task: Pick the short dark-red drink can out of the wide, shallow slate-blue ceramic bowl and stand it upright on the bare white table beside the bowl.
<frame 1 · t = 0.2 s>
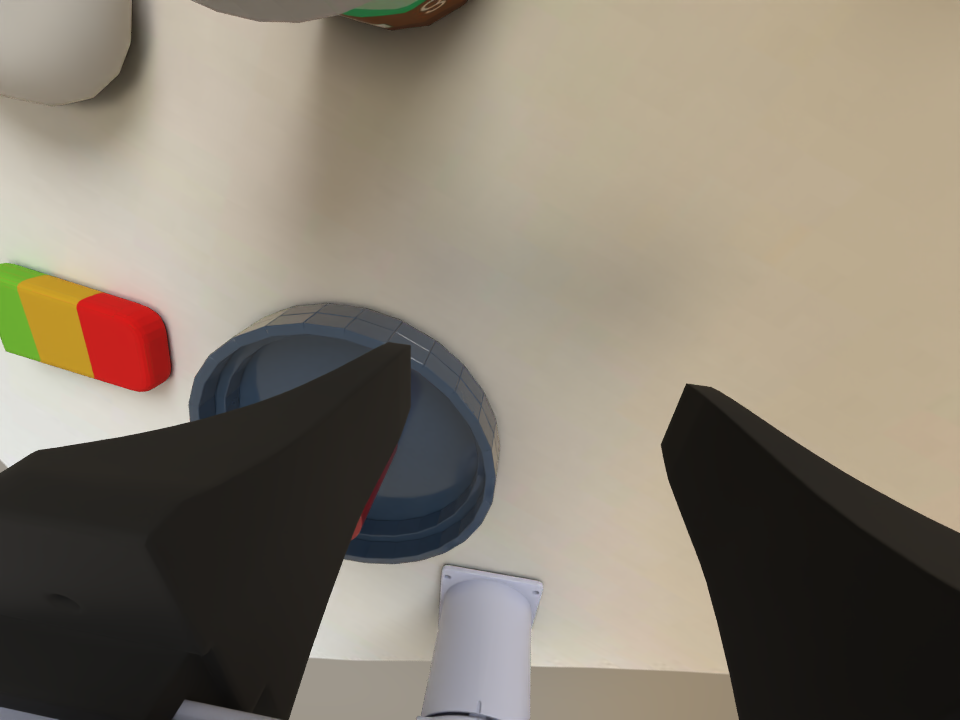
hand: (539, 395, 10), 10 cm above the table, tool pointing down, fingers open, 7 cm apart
bowl: (360, 433, 26), on the table
can: (358, 436, 25), resting on bowl
popsicle: (55, 309, 24), on the table
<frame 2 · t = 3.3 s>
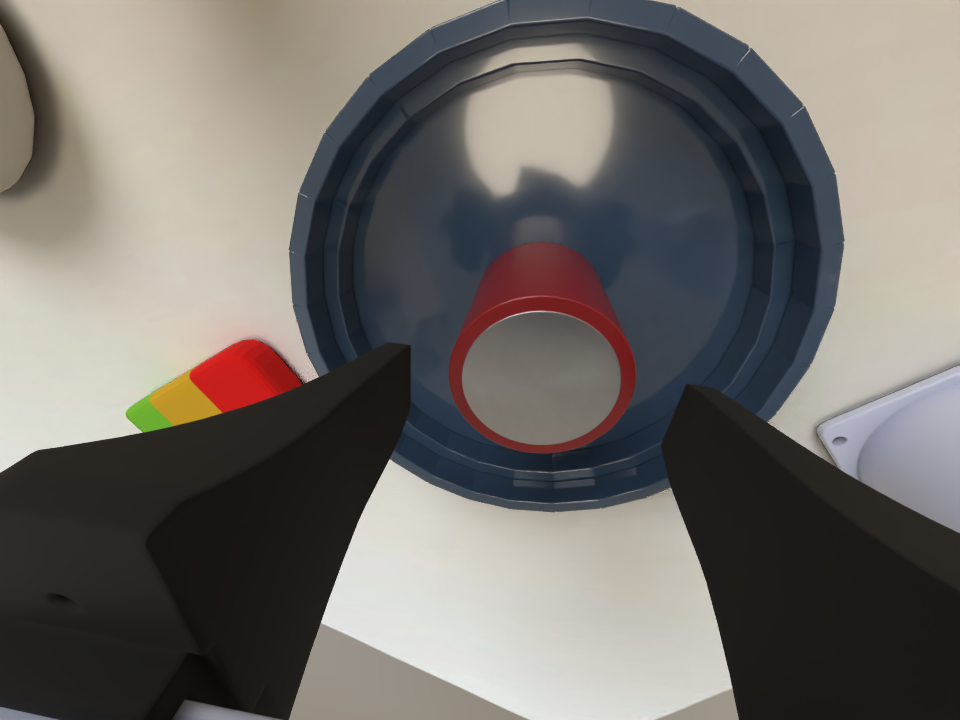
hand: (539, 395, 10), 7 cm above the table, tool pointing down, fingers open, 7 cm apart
bowl: (538, 303, 16), on the table
can: (538, 305, 16), resting on bowl
popsicle: (207, 418, 23), on the table
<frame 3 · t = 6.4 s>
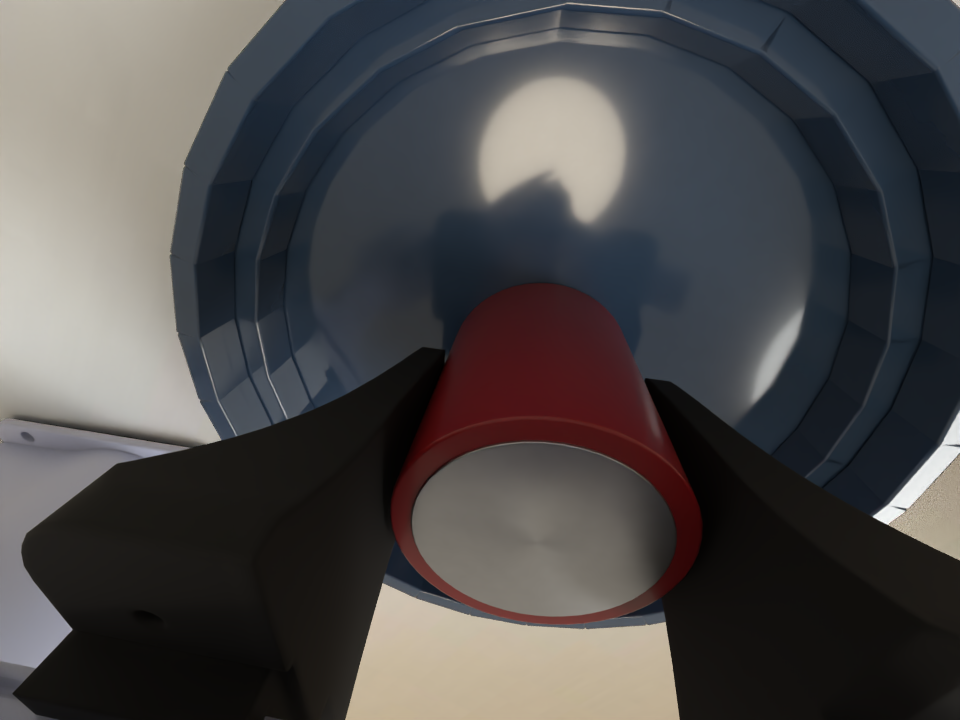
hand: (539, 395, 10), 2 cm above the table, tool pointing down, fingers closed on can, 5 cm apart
bowl: (538, 360, 12), on the table
can: (537, 365, 12), resting on bowl, touching gripper
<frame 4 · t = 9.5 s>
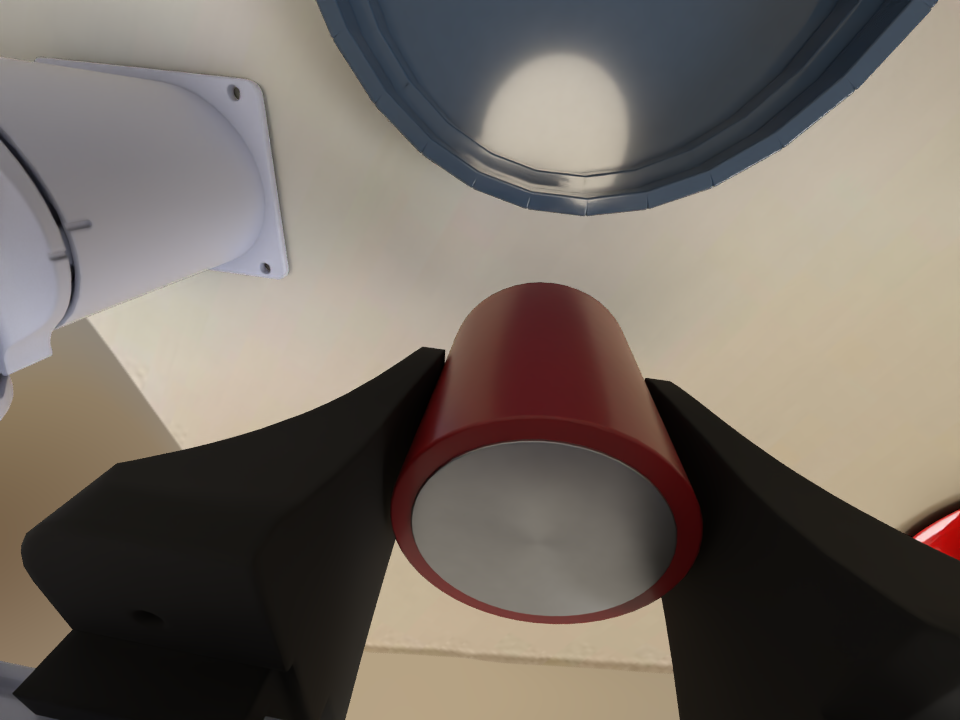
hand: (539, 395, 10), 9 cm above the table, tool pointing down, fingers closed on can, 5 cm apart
can: (537, 365, 12), point 7 cm above the table, touching gripper
when the fingers open (2 cm above the table, at t = 12.6 s): can stays where it is, on the table.
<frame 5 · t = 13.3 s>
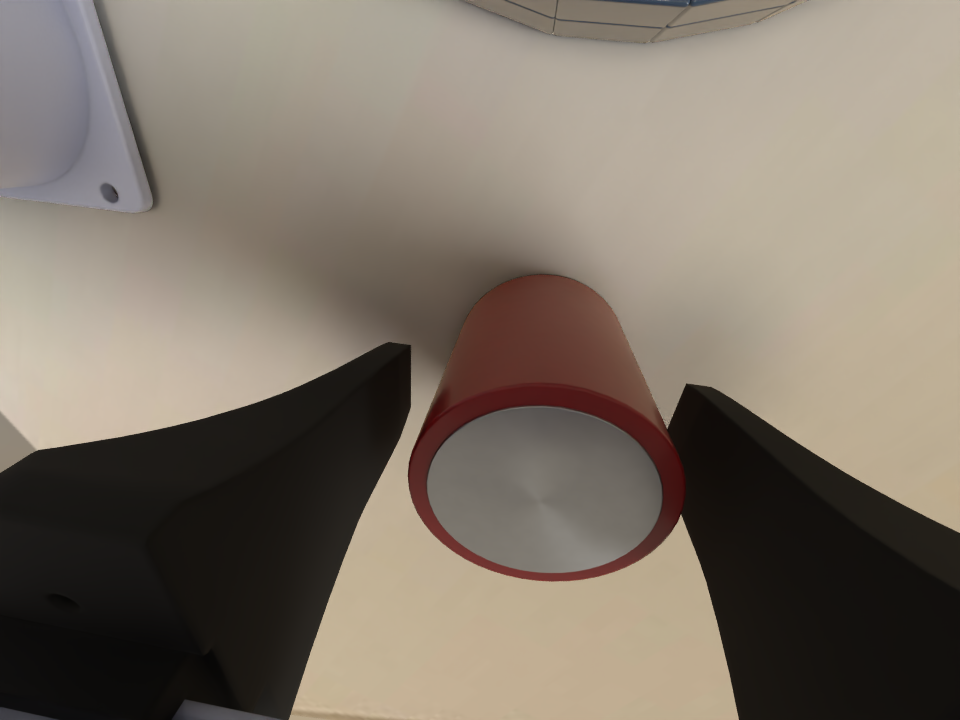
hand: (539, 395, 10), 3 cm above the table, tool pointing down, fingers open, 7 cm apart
can: (539, 352, 13), on the table
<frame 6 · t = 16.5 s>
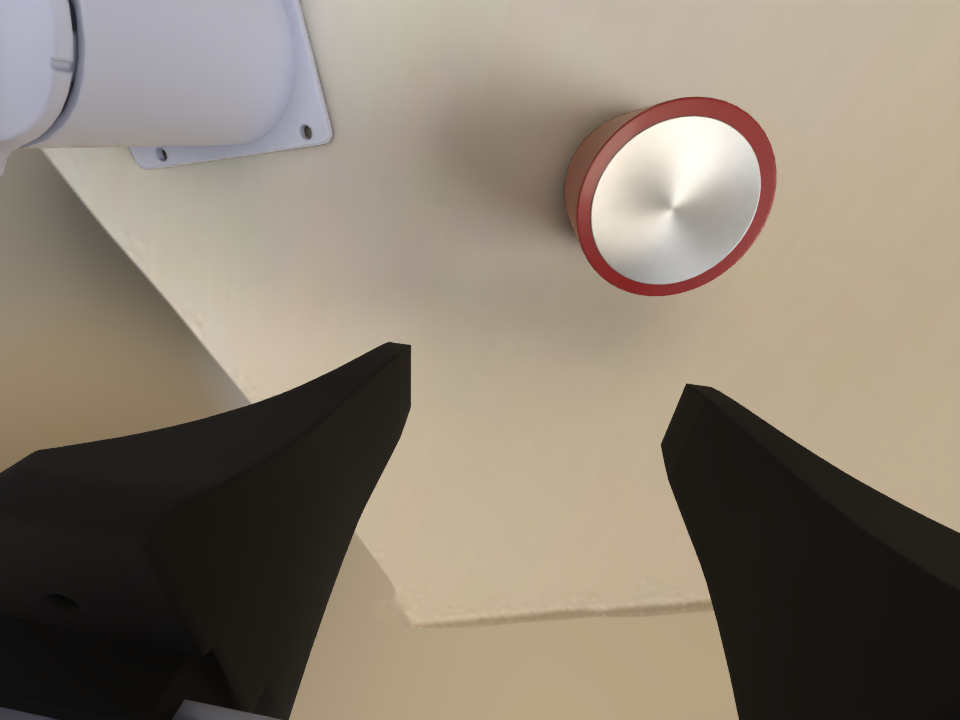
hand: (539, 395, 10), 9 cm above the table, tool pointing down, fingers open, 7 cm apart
can: (628, 186, 16), on the table
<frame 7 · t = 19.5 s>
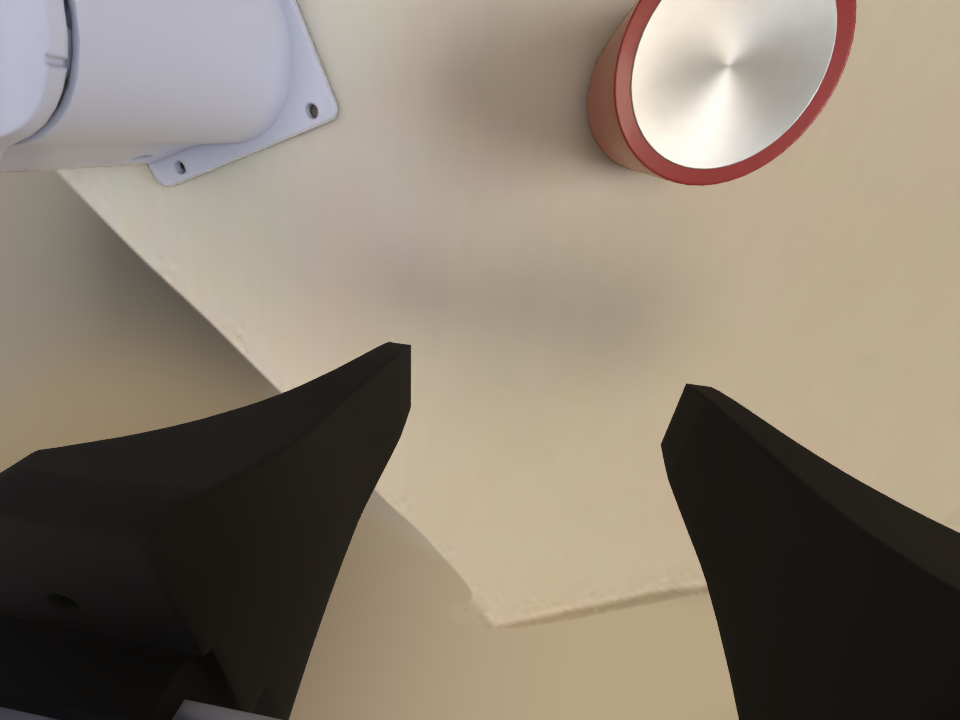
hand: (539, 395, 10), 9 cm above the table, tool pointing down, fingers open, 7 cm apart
can: (659, 93, 15), on the table
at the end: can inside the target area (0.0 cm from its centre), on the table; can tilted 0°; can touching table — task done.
